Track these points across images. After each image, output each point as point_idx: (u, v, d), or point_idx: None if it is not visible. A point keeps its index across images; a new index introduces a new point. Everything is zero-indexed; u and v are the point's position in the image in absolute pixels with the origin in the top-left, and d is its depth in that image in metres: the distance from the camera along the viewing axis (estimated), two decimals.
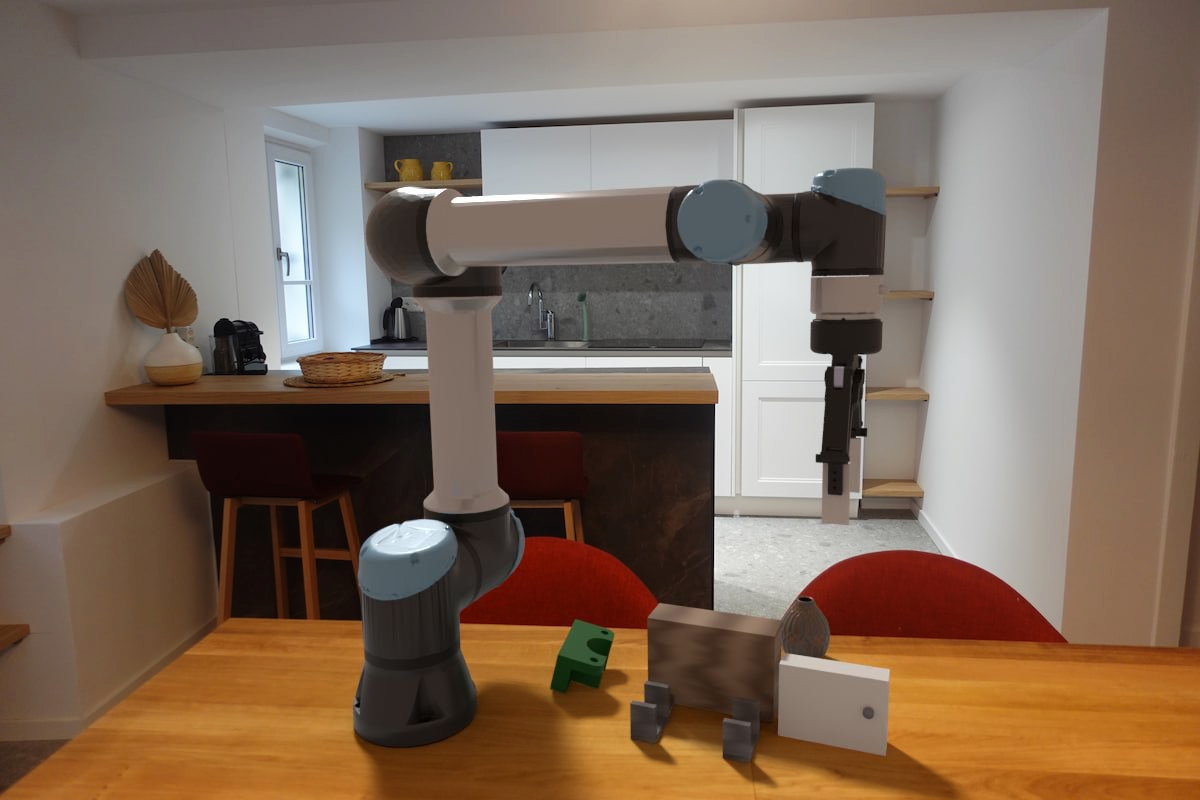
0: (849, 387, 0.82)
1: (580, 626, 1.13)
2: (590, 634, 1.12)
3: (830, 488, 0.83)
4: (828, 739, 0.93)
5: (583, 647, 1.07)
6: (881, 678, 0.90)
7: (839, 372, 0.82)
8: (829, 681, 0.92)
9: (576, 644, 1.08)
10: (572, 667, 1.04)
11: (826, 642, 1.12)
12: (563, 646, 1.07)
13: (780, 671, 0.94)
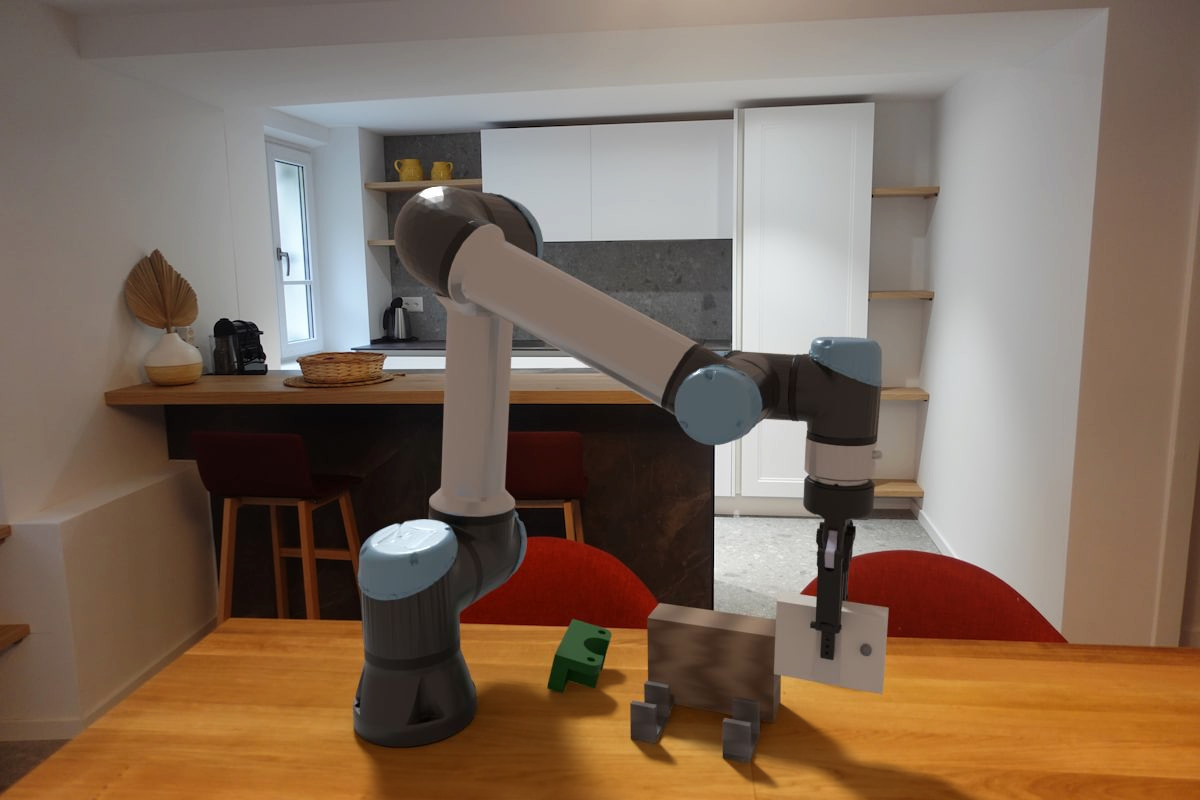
0: (840, 571, 0.86)
1: (577, 626, 1.13)
2: (588, 634, 1.12)
3: (823, 653, 0.90)
4: None
5: (580, 647, 1.08)
6: (880, 615, 0.89)
7: (830, 559, 0.85)
8: None
9: (573, 644, 1.08)
10: (569, 667, 1.04)
11: None
12: (560, 646, 1.07)
13: (777, 608, 0.93)
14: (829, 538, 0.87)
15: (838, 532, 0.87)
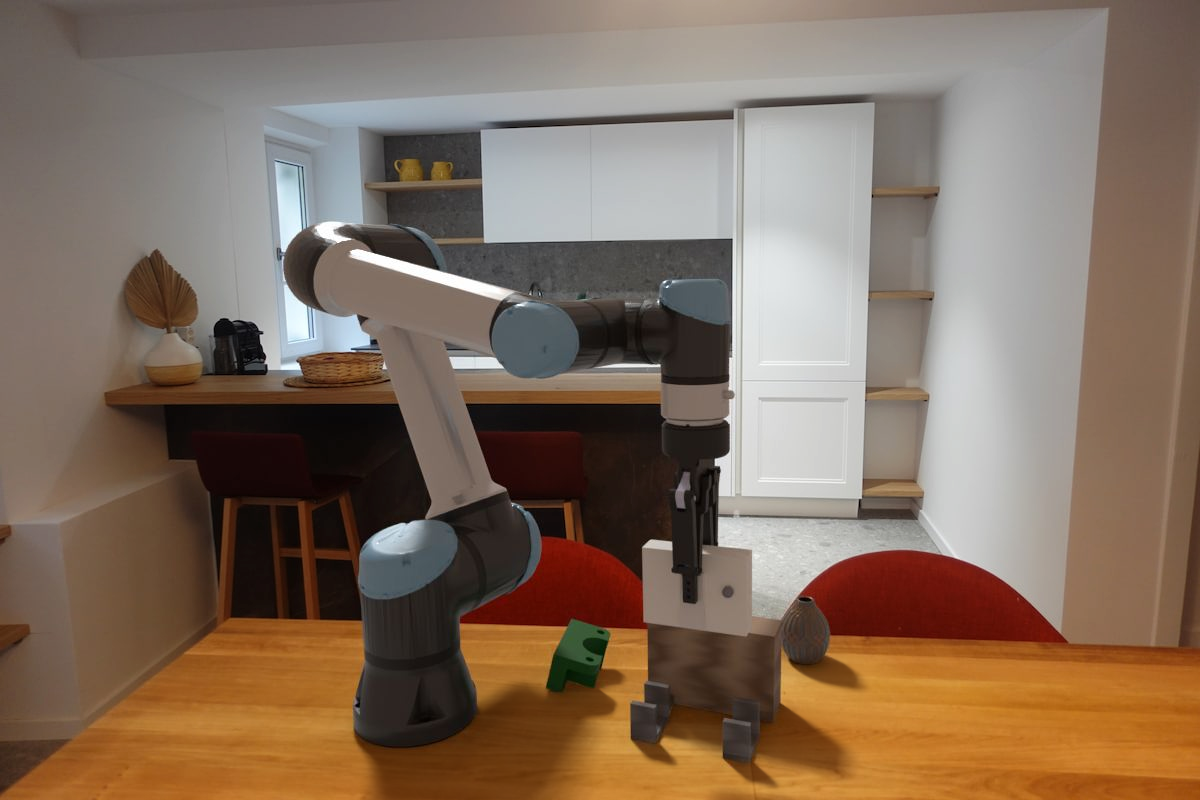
0: (691, 510, 0.85)
1: (576, 626, 1.13)
2: (586, 634, 1.12)
3: (685, 597, 0.89)
4: None
5: (579, 647, 1.08)
6: (740, 556, 0.89)
7: (680, 499, 0.85)
8: None
9: (572, 644, 1.08)
10: (568, 667, 1.04)
11: (826, 642, 1.12)
12: (559, 646, 1.07)
13: (643, 555, 0.93)
14: (682, 479, 0.87)
15: (691, 473, 0.86)
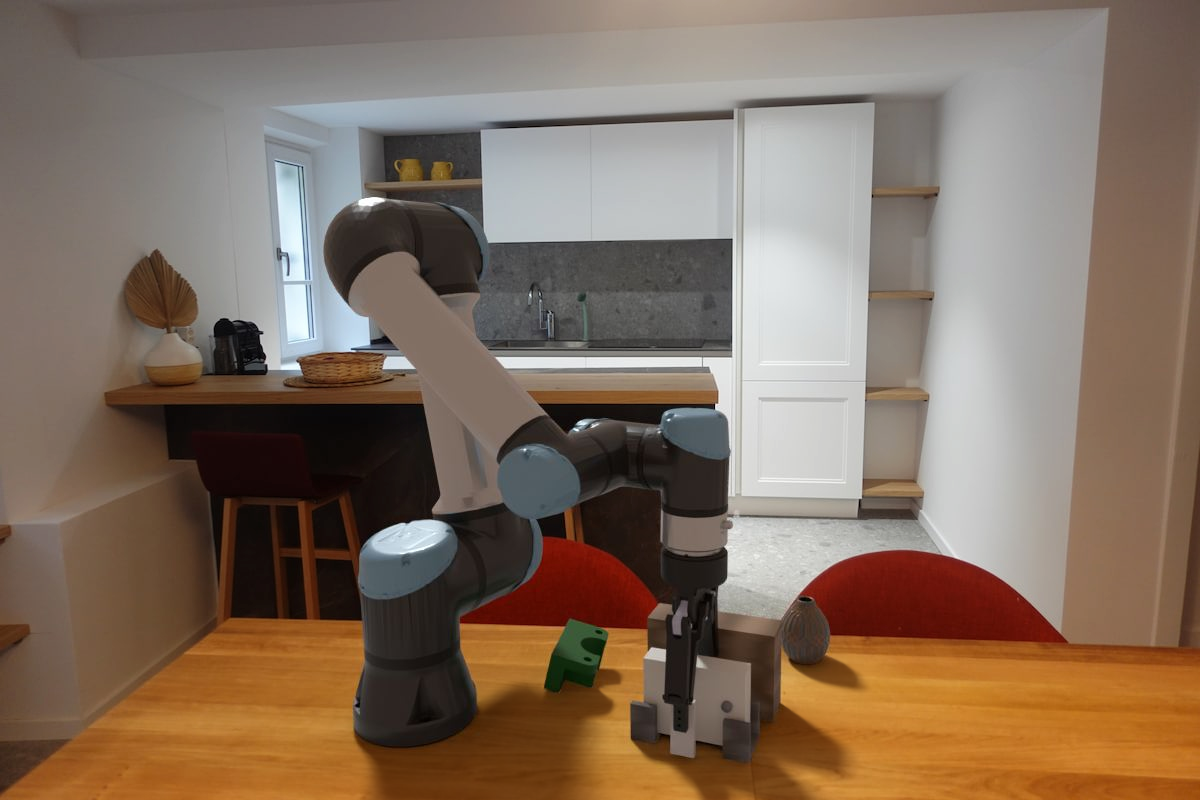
0: (687, 638, 0.86)
1: (574, 625, 1.13)
2: (584, 634, 1.12)
3: (675, 725, 0.89)
4: None
5: (577, 647, 1.08)
6: (739, 672, 0.91)
7: (677, 624, 0.86)
8: None
9: (570, 644, 1.08)
10: (566, 666, 1.04)
11: (826, 642, 1.12)
12: (557, 645, 1.07)
13: (644, 665, 0.95)
14: (680, 606, 0.88)
15: (689, 600, 0.88)
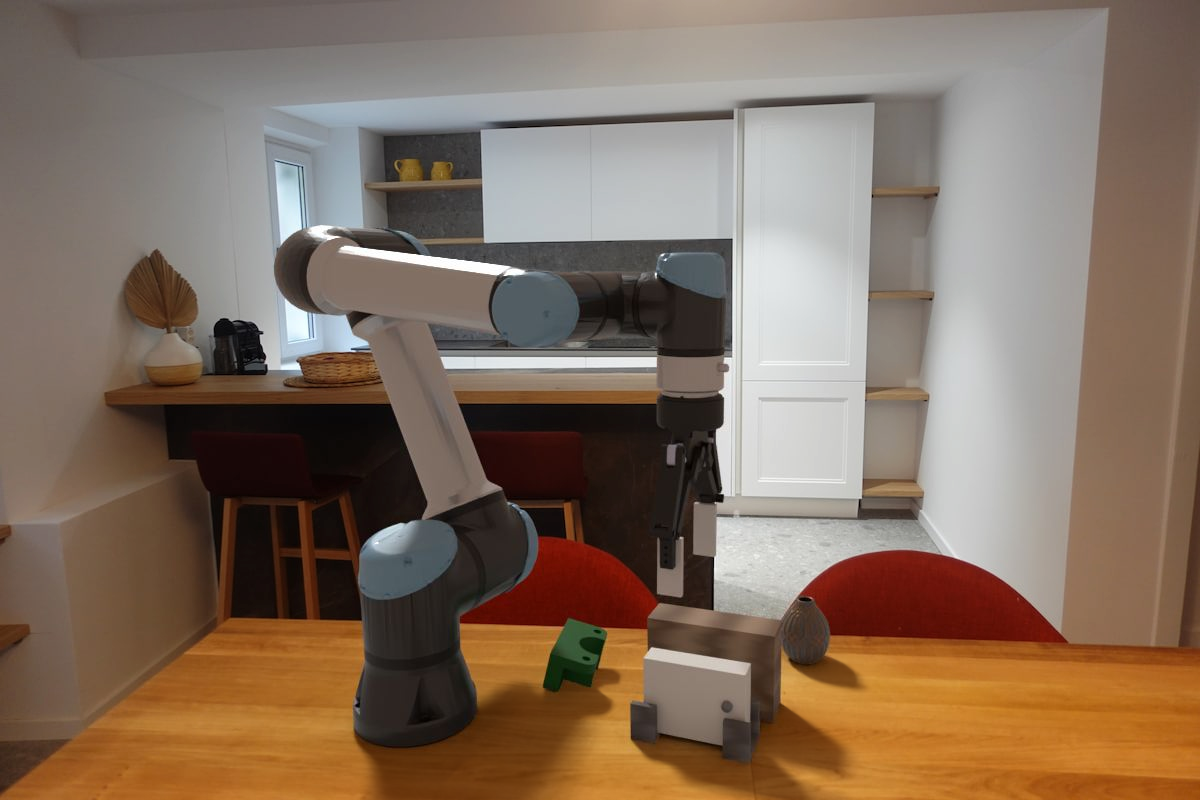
0: (680, 466, 0.85)
1: (573, 625, 1.14)
2: (583, 633, 1.12)
3: (662, 562, 0.86)
4: (690, 733, 0.94)
5: (575, 646, 1.08)
6: (739, 672, 0.91)
7: (671, 451, 0.85)
8: (689, 675, 0.93)
9: (568, 643, 1.08)
10: (564, 666, 1.04)
11: (826, 642, 1.12)
12: (555, 645, 1.07)
13: (644, 665, 0.95)
14: (676, 444, 0.88)
15: None
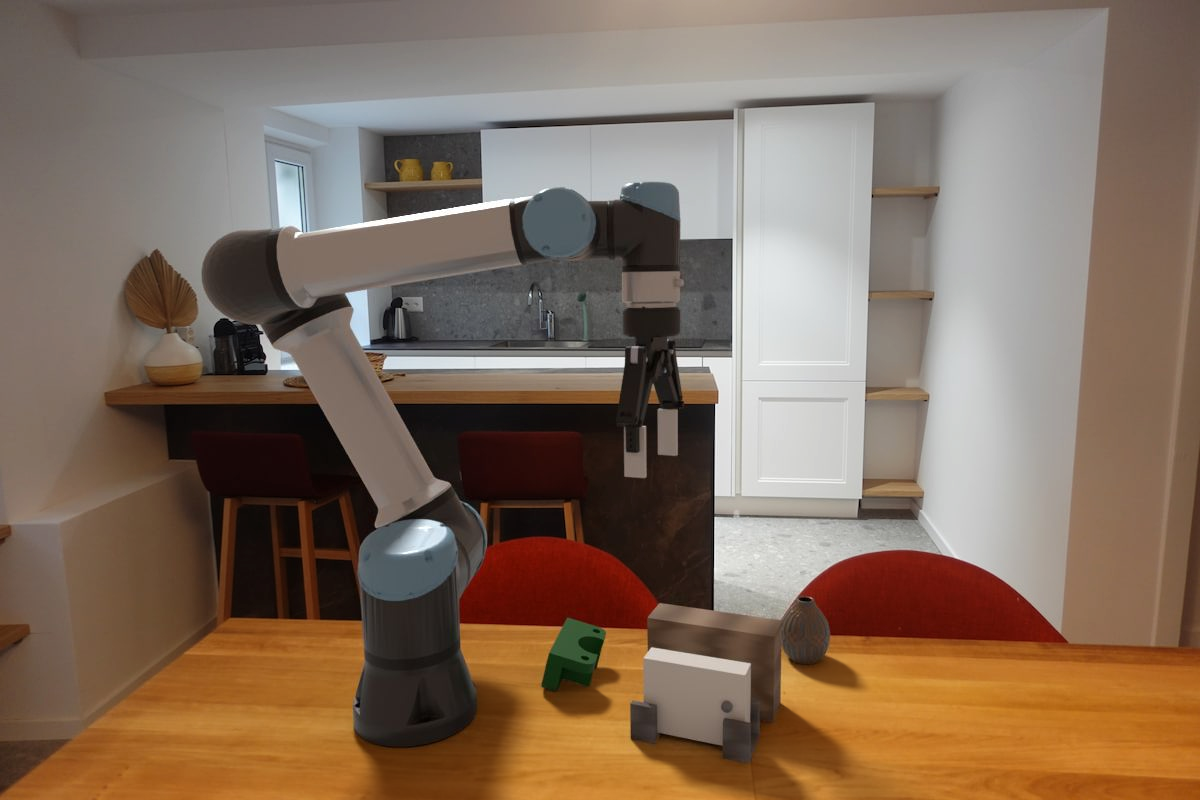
0: (642, 363, 0.99)
1: (572, 624, 1.14)
2: (582, 633, 1.12)
3: (627, 447, 1.00)
4: (690, 733, 0.94)
5: (574, 646, 1.08)
6: (739, 672, 0.91)
7: (634, 351, 1.00)
8: (689, 675, 0.93)
9: (567, 643, 1.08)
10: (563, 665, 1.05)
11: (826, 642, 1.12)
12: (554, 644, 1.07)
13: (644, 665, 0.95)
14: None
15: None
